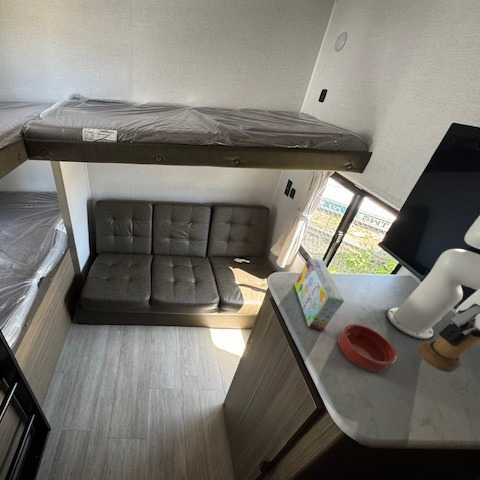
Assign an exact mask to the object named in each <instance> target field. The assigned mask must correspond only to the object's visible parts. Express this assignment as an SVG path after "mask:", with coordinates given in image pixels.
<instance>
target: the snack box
mask: <svg viewBox="0 0 480 480" xmlns="http://www.w3.org/2000/svg"><path fill="white" fill-rule="evenodd" d="M294 288H295V291H296V294H297V298H298V300H299V303H300V306H301V309H302V313H303V315H304V319H305V321H306V324H307V327H308V328H312V329H316V330H320V331H324V329H325V328H326V326H328V324H329V322H330V321H332V318H334V316H335V315H336V313H337V311H338V310H339V309H340V307H341V306H342V305H343V304H344V303H345V299H344V297H343V295H342V293H341V292H340V289H339V288H338V286H337V285H336V282H335V281H334V278H333V276H332V274H331V273H330V271H329V269H328V267H327V265H326V263H325V262H324V260H323V259H320V258H314V257H313V258H312V257H308V258H307V261H306V262H305V264H304V266H303V268H302V270H301V272H300V274H299V275H298V278H297V280H296V281H295V284H294Z"/></svg>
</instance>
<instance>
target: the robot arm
mask: <svg viewBox="0 0 480 480" xmlns="http://www.w3.org/2000/svg"><path fill="white" fill-rule="evenodd" d="M464 242H465V243H466V244H467V245H468V246H470V247H473V248H475V249H478V250H480V215H479V216H477V218H476V219H475V220H474V222H473V224H471V226H470V227H469V229H468V230H467V231H466V233H465V235H464ZM462 286H463V287H467V288H470V289H472V290H473V289H474V290H475V292H474V293H472V294H471V295H469V297H467V298H466V299H465V300H464V301H463V302H462V303H461V304H460V305H459V306H458V307H457V308H456V309H455V313H456V316H454V317H453V318H451V319H450V323H449V324H448V325H446V326H445V327H444V328H443V329H442V330H440V331H439V332H438V335H439V336H440V338H444V339H445V340H446V341H447V342H448V343H450V344H451V345H452V346H458V345H459V344H460V343H462V342H463V341H464V340H465V339H467V338H468V337H469V336H470V335H469V333H471V332H472V331H474V330H475V329H477V328H478V330H480V254H479V253H477V252H473V251H470V250H466V249H461V248H450V249H447V250H445V251H444V252H441V254H440V256H439V257H438V259H437V260H436V261H435V263H434V265H433V267H432V268H431V270H430V272H429V273H428V274H427V275H426V277H424V279H423V280H422V281H421V282H420V284H419V285H418V286H417V287H416V288H415V289H414V290H413V291H412V292H411V294H409V296H408V297H407V298H406V299H405V300H404V301H403V302H402V303H401V305H400V306H399V307H392V308H390V309H389V310H388V311H387V313H386V314H387V318H388V320H389V321H390V322H391V324H392V325H393V326H394V327H396V328H397V329H398V330H399V331H400V332H403V333H404V334H406V335H408V336H410V337H413V338H416V339H421V340H429V339H430V338H431V337H432V336H433V335H434V330H433V327H434V326H435V325H436V324H437V323H439V322H441V321H442V318H444V316H446V315H447V314H448V313H449V312H450V311H451V310H452V309H454V307H455V306H456V305H458V304H459V303H460V302H461V301H462V299H463V296H464V291H463V288H462ZM473 318H474V319H475V321H474V320H473ZM466 322H468V323H470V324H471V326H470V327H468V326H467V325H466V324H465V323H466Z"/></svg>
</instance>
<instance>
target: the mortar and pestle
mask: <svg viewBox="0 0 480 480" xmlns="http://www.w3.org/2000/svg"><path fill="white" fill-rule="evenodd" d="M473 320H474V321H475V319H474V318H473ZM465 324H466V325H467V326H468V327H470V326H471V324H470V323H468V322H466V323H465ZM469 335H470V336H469V337H468V338H467V339H465V340H464V341H463V342H462V343H460V344H459V345H458V346H452V345H451V344H450V343H448V342H447V341H446V340H445V339H444V338H442V337H440V338H439V339H437V340H433V339H425V340H424V341H422V343H421V344H419V345H418V347H417V351H418V352H417V353H418V354H419V355H420V357H421V358H422V359H423V360H424V361H425V362H426V363H427V364H429V365H430V366H432V367H433V368H435V369H437V370H439V371H441V372H445V373H452V372H455V371H456V370H457V369H459V368H460V367H461V366H462V360H461V358H460V356H461V355H462V354H464V353H465V352H467V351H468V350H469V349H471V348H472V347H473V346H474V345H476V344H477V343H479V342H480V330H478V328H477V329H475V330H474V331H472V332H471V333H469Z"/></svg>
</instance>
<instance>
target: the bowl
mask: <svg viewBox="0 0 480 480" xmlns="http://www.w3.org/2000/svg"><path fill="white" fill-rule="evenodd" d="M337 344H338V347H339V348H340V351H341V352H342V353H343V354H344V356H345V357H346V358H347V359H348V360H349V361H351V362H352V363H353V364H355V365H356V366H358V367H359V368H361V369H364V370H367V371H369V372H374V373H380V372H385V370H387V369H388V368H389V367H390V366H391V365H393V363H394V362H396V360H397V353H396V349H395V348H394V347H393V345H392V343H391V342H390V341H389V340H388V339H387V338H386V337H385V336H384V335H382V334H381V333H379V332H378V331H376V330H375V329H373V328H371V327H368V326H365V325H362V324H356V323H354V324H353V323H352V324H349V325H347V326H345V327H344V329H343V330H342V331H341V333H340V334H339V335H338V338H337Z"/></svg>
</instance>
